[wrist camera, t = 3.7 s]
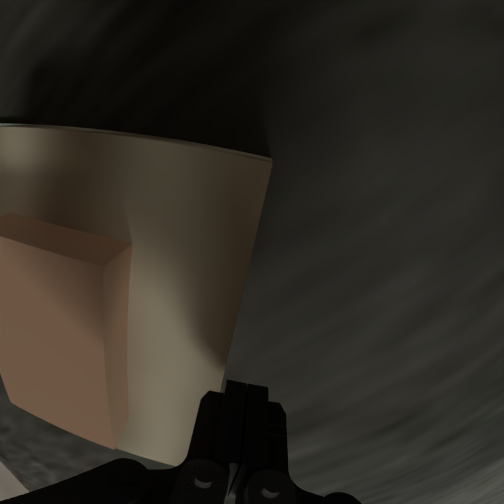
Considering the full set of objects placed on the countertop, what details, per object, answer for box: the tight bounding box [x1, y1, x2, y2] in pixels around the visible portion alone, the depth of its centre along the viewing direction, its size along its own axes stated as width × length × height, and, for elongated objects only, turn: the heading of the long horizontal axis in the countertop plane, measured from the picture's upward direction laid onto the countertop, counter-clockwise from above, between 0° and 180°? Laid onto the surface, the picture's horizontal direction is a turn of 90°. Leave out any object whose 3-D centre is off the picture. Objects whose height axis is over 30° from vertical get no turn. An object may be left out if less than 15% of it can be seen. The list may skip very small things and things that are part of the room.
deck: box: [0, 125, 273, 466], centre depth 14 cm, size 12×16×4 cm
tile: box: [0, 213, 132, 450], centre depth 11 cm, size 6×9×2 cm, turn 168°
